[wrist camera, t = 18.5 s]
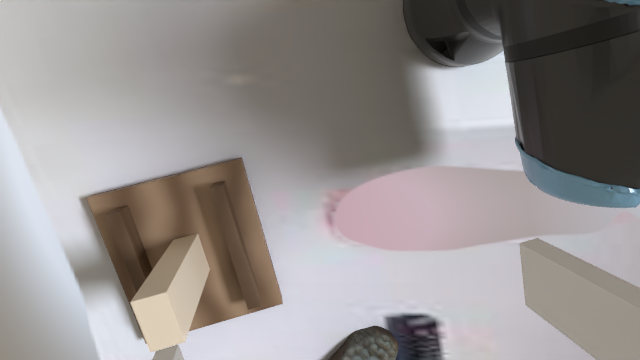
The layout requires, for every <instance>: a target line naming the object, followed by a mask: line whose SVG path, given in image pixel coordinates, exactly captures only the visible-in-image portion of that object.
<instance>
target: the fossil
mask: <svg viewBox="0 0 640 360" xmlns="http://www.w3.org/2000/svg"><path fill="white" fill-rule="evenodd" d="M397 352H398V342H397V340H396V338H395V337H394V336H393V335H392V333H391V332H390V331H388V330H386V329H384V328H382V327H379V326H372V327H368V328H365V329H361V330H357V331H355V332H353V333H352V334H351V335H350V336H349V337H348V339H347V341H346V342H345V343H344V345H343V346H342V347H340V349H339V350H338V351H337V352H336V353H335V354H334V355H333V356H332V357H331V358H330V359H329V360H396V356H397Z"/></svg>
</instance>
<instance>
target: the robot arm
mask: <svg viewBox="0 0 640 360" xmlns="http://www.w3.org/2000/svg"><path fill="white" fill-rule="evenodd" d="M403 11H404V17H405V22H406V26H407V29H408V31H409V34H410V36H411V38H412V39H413V41H414V43H415V44H416V45H417V47H418V48H419V49H420V50H421V51H422V52H423V53H424V54H425V55H426V56H428V57H429V58H430V59H432V60H434V61H436V62H438V63H440V64H443V65H447V66H453V67H462V66H468V65H473V64H478V63H481V62H484V61H487V60H489V59H491V58H493V57H495V56H496V55H498V54H499V53H501V52H502V51H503V50H504V55H505V64H506V70H507V76H508V82H509V89H510V96H511V103H512V110H513V117H514V124H515V131H516V138H515V143H516V146H517V148H518V150H519V151H520V155H521V160H522V164H523V169H524V173H525V175H526V177H527V178H528V179H529V181H530V182H531V183H533V184H534V185H535V186H537V187H538V188H539V189H540V190H541V191H543V192H545V193H547V194H549V195H551V196H554V197H556V198H559V199H562V200H565V201H569V202H574V203H578V204H584V205H590V206H598V207H610V208H631V207H637V206H638V205H639V204H640V0H403ZM520 253H521V263H522V273H523V283H524V293H525V303H526V306H528V307H529V308H530V309H531V310H533V311H534V312H535V313H537V314H538V315H539V316H541V317H542V318H543V319H544V320H546V321H547V322H548V323H550V324H551V325H552V326H554V327H555V328H556V329H557V330H559V331H560V332H561V333H563V334H564V335H565V336H567V337H568V338H569V339H571V340H572V341H573V342H574V343H576V344H577V345H578V346H580V347H581V348H582V349H584V350H585V351H586V352H587V353H589V354H590V355H591V356H593V357H594V358H595V359H597V360H640V288H639V287H637V286H635V285H633V284H631V283H629V282H626V281H624V280H622V279H620V278H618V277H616V276H614V275H612V274H610V273H608V272H606V271H604V270H602V269H600V268H598V267H596V266H594V265H592V264H590V263H588V262H585V261H583V260H581V259H579V258H577V257H575V256H573V255H571V254H569V253H567V252H565V251H563V250H561V249H559V248H557V247H555V246H553V245H551V244H549V243H547V242H544V241H542V240H540V239H538V238H536V239H533V240H529V241H526V242H523V243H520ZM153 360H184V358H183V356H182V353H181V350H180V348H179V345H175V346H172V347H169V348H165V349H162V350H158V351H156V353H155V355H154V357H153Z"/></svg>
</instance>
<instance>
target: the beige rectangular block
mask: <svg viewBox="0 0 640 360" xmlns="http://www.w3.org/2000/svg"><path fill="white" fill-rule="evenodd" d="M209 271H210V268H209V265H208V262H207V259H206V256H205V253H204V250H203V247H202V244H201V241H200V238H199V235H198V233H197V234H193V235H190V236H186V237H182V238H178V239H175V240H173V241H172V242H171V244H170V245H169V247H168V248H167V250H166V251H165V253H164V254H163V255H162V257H161V258H160V260H159V261H158V263H157V264H156V266H155V267H154V268H153V270H152V271H151V273H150V274H149V276H148V277H147V279H146V280H145V282H144V283H143V284H142V286H141V287H140V289H139V290H138V292H137V293H136V295H135V296H134V297H133V299H132V300H131V302H130V303H131V306H132V308H133V311H134V313H135V316H136V318H137V320H138V323H139V325H140V328H141V330H142V333H143V335H144V338H145V340H146V343H147V345H148V347H149V350H150V352H153V351H156V350H160V349H163V348H166V347H170V346H173V345H177V344H180V343H183V342H185V341H186V338H187V335H188V332H189V329H190V326H191V323H192V320H193V317H194V315H195V312H196V309H197V306H198V303H199V300H200V297H201V294H202V291H203V288H204V285H205V282H206V280H207V277H208V274H209Z"/></svg>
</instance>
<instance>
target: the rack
mask: <svg viewBox="0 0 640 360" xmlns="http://www.w3.org/2000/svg"><path fill="white" fill-rule="evenodd" d="M87 201H88V203H89V206H90V208H91V211H92V213H93V216H94V218H95V220H96V223H97V225H98V228H99V230H100V233H101V235H102V238H103V240H104V242H105V245H106V247H107V250H108V252H109V255H110V257H111V260H112V262H113V264H114V267H115V269H116V272H117V274H118V277H119V279H120V282H121V284H122V286H123V289H124V291H125V294H126V296H127V299H128V301H129V304H130V306H131V303H130V302H131V300H132V299H133V297H134V296H135V295H136V293H137V292H138V290H139V289H140V287H141V286H142V284H143V283H144V282H145V280H146V279H147V277H148V276H149V274H150V273H151V271H152V270H153V268H154V267H155V266H156V264H157V263H158V261H159V260H160V258H161V257H162V255H163V254H164V253H165V251H166V250H167V248H168V247H169V245H170V244H171V242H172V241H173V240H175V239H178V238H182V237H186V236H190V235H193V234H197V233H198V235H199V238H200V241H201V244H202V247H203V250H204V253H205V256H206V259H207V262H208V265H209V268H210V271H209V274H208V277H207V280H206V282H205V285H204V288H203V291H202V294H201V297H200V300H199V303H198V306H197V309H196V312H195V315H194V317H193V320H192V323H191V326H190V329H189V331H191V330H195V329H198V328H202V327H205V326H208V325H212V324H215V323H219V322H222V321H225V320H229V319H232V318H236V317H239V316H242V315H246V314H249V313H253V312H256V311H259V310H263V309H266V308H270V307H273V306H276V305H280V304H283V303H282V296H281V292H280V289H279V285H278V282H277V278H276V275H275V271H274V268H273V265H272V261H271V258H270V254H269V251H268V247H267V244H266V240H265V237H264V233H263V230H262V226H261V223H260V219H259V216H258V213H257V209H256V206H255V202H254V199H253V195H252V192H251V188H250V185H249V181H248V178H247V174H246V171H245V167H244V164H243V161H242V158H238V159H234V160H230V161H226V162H222V163H219V164H215V165H211V166H207V167H203V168H199V169H195V170H191V171H187V172H183V173H179V174H175V175H171V176H167V177H163V178H159V179H155V180H151V181H147V182H143V183H139V184H135V185H131V186H127V187H123V188H119V189H115V190H111V191H107V192H103V193H99V194H95V195H92V196H90V197H88V198H87ZM131 308H132V306H131ZM132 311H133V308H132ZM133 313H134V311H133ZM134 316H135V313H134ZM135 318H136V316H135ZM136 321H137V323H138V320H137V318H136ZM138 326H139V328H140V325H139V323H138ZM140 330H141V328H140ZM141 333H142V330H141ZM142 335H143V333H142ZM143 338H144V335H143ZM144 340H145V338H144ZM145 343H146V340H145ZM146 344H147V343H146Z"/></svg>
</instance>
